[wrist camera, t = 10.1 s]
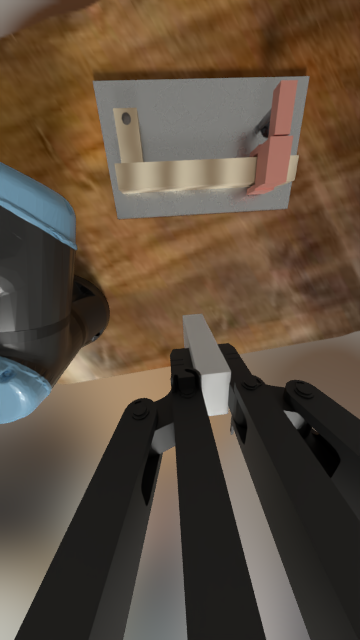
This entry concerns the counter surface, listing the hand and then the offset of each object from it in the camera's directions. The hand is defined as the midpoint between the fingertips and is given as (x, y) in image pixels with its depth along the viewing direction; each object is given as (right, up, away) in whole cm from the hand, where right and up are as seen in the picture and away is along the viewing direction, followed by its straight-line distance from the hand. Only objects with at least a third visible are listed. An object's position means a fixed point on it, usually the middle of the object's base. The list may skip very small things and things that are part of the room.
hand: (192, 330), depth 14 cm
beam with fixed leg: (+3, +26, +14) cm, 30 cm away
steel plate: (+3, +27, +15) cm, 31 cm away
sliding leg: (+11, +27, +14) cm, 32 cm away
